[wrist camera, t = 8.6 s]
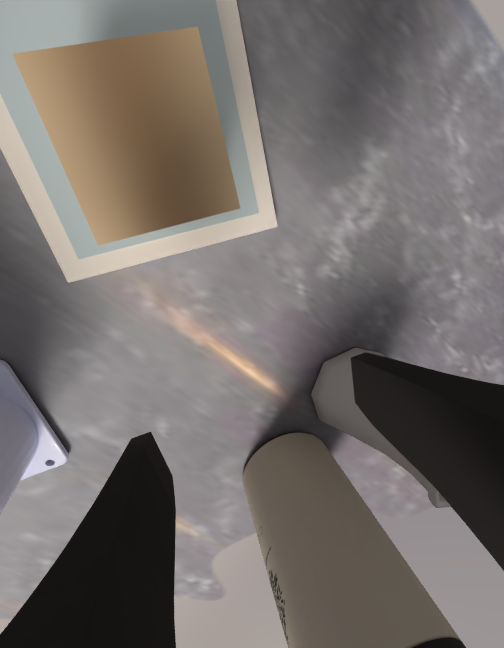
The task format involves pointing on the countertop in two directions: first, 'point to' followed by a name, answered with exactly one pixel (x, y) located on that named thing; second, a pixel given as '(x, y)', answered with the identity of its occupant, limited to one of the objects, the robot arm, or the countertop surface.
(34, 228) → the countertop surface
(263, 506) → the travel mug
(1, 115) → the picture frame
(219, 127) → the oak block
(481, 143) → the countertop surface
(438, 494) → the flask
